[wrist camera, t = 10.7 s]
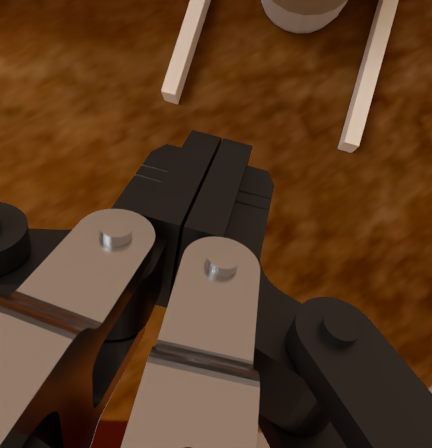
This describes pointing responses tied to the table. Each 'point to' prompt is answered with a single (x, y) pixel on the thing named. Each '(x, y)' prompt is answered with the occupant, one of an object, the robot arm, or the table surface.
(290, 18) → the coffee cup
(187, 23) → the guide track
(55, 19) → the table surface
